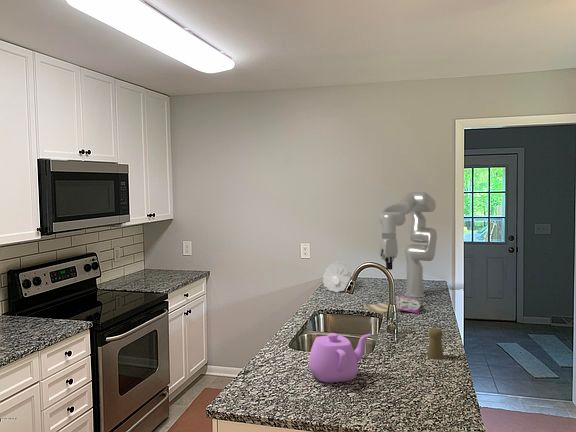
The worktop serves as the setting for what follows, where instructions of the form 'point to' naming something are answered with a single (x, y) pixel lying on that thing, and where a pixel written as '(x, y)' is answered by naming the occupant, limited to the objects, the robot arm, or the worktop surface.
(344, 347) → the teapot
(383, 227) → the robot arm
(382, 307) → the maple board
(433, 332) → the brown pepper mill
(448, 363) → the worktop surface
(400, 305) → the candy bar box
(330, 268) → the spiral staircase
